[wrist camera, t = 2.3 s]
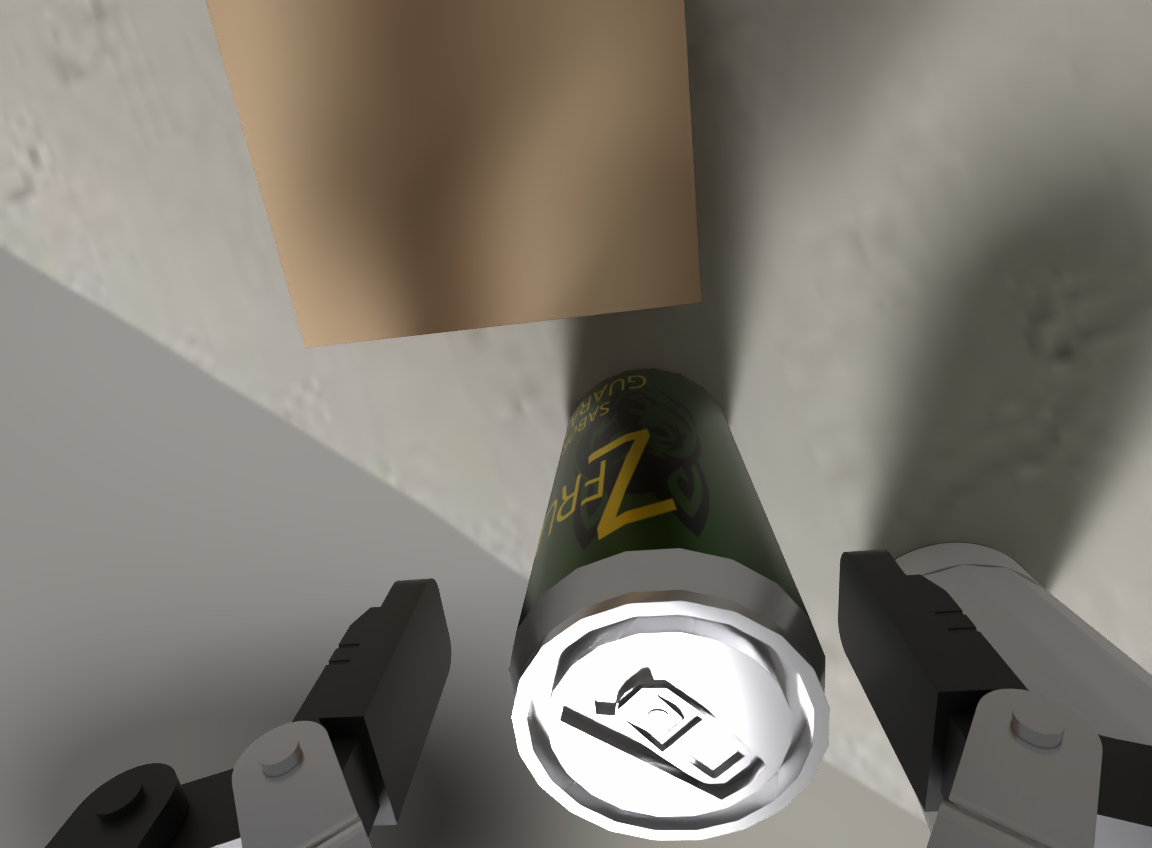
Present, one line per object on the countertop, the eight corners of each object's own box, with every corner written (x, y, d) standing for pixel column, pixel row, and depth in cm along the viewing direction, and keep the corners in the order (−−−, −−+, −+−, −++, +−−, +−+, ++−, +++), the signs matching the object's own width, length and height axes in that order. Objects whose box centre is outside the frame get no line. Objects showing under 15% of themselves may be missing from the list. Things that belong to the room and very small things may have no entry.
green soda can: (762, 430, 20) (924, 724, 9) (654, 537, 22) (682, 893, 11) (636, 328, 20) (648, 517, 8) (535, 448, 21) (433, 736, 10)
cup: (835, 525, 21) (1061, 894, 10) (1083, 517, 21) (1622, 908, 9) (822, 703, 24) (989, 1146, 13) (1040, 703, 23) (1418, 1174, 12)
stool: (654, -94, 16) (670, -251, 10) (679, 268, 19) (701, 302, 13) (320, -30, 17) (166, -139, 11) (396, 302, 20) (305, 347, 14)
